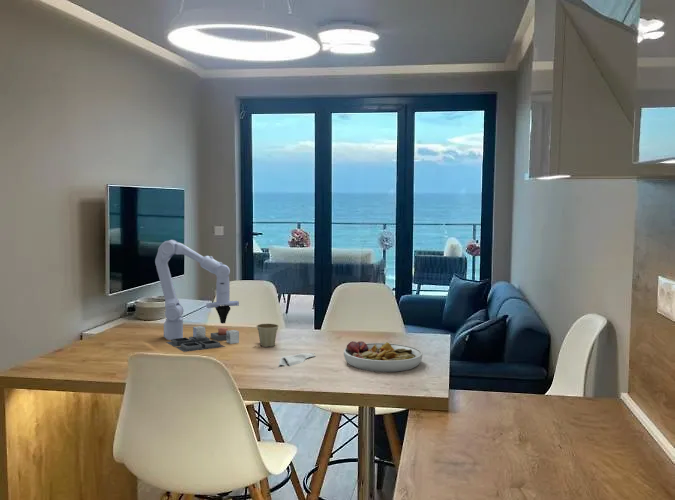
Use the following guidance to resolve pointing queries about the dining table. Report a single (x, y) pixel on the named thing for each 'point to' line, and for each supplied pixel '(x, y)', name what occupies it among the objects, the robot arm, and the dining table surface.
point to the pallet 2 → (199, 345)
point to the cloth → (295, 359)
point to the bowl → (382, 356)
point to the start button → (222, 331)
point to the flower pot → (267, 334)
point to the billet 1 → (199, 332)
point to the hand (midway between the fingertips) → (222, 323)
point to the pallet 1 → (185, 341)
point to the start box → (218, 337)
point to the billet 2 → (232, 336)
